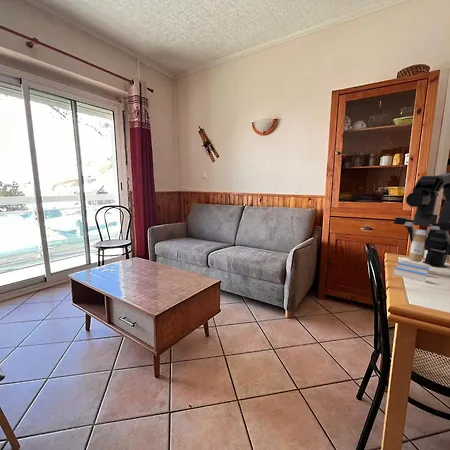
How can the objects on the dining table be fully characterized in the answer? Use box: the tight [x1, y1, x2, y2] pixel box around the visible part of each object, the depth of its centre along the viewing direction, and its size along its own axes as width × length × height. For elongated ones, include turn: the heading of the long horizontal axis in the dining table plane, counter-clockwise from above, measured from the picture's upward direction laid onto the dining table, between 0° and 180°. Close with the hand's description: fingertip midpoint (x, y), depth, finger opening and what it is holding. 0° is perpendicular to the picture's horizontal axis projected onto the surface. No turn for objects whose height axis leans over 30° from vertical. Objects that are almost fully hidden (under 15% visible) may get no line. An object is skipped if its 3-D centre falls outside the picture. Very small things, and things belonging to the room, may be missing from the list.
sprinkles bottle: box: [408, 228, 429, 263], centre depth 101 cm, size 5×5×14 cm
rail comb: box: [393, 258, 431, 283], centre depth 99 cm, size 19×10×3 cm, turn 137°
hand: (418, 243), depth 101 cm, fingers closed on sprinkles bottle, 4 cm apart
